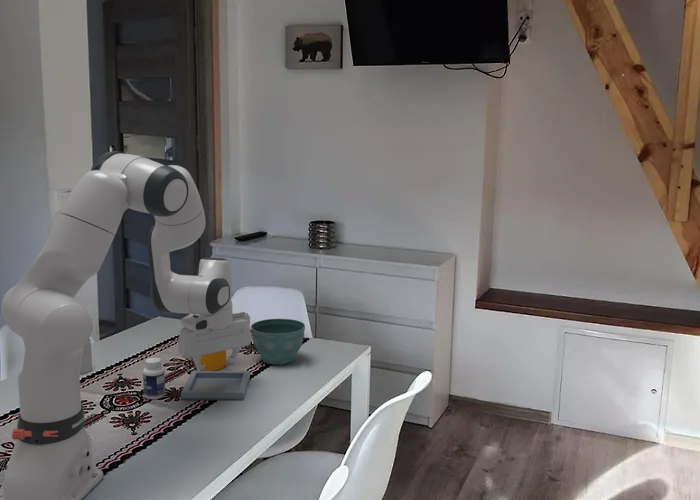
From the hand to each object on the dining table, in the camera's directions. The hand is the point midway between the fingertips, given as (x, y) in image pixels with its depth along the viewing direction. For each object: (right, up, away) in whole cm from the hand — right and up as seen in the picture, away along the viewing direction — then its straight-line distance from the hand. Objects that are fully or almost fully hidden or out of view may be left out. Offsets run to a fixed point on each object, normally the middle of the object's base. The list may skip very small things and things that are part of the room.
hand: (216, 366), depth 191 cm
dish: (0, -6, +1) cm, 6 cm away
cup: (-43, -3, +13) cm, 45 cm away
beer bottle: (-5, -3, +18) cm, 19 cm away
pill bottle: (-15, -7, -4) cm, 17 cm away
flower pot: (+14, -2, +24) cm, 28 cm away
